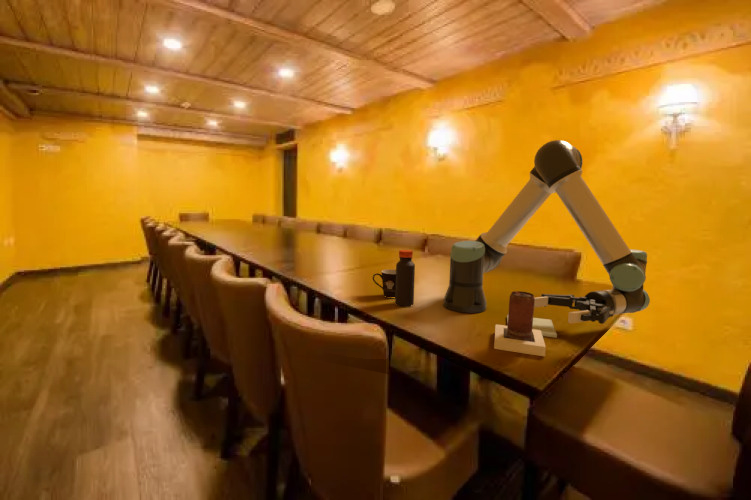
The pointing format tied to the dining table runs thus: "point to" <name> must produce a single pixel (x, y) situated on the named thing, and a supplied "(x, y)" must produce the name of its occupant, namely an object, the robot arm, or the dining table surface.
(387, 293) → the coffee mug
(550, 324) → the rubber mat
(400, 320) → the dining table surface
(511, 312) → the can
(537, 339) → the cup holder
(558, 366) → the dining table surface
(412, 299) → the bottle
